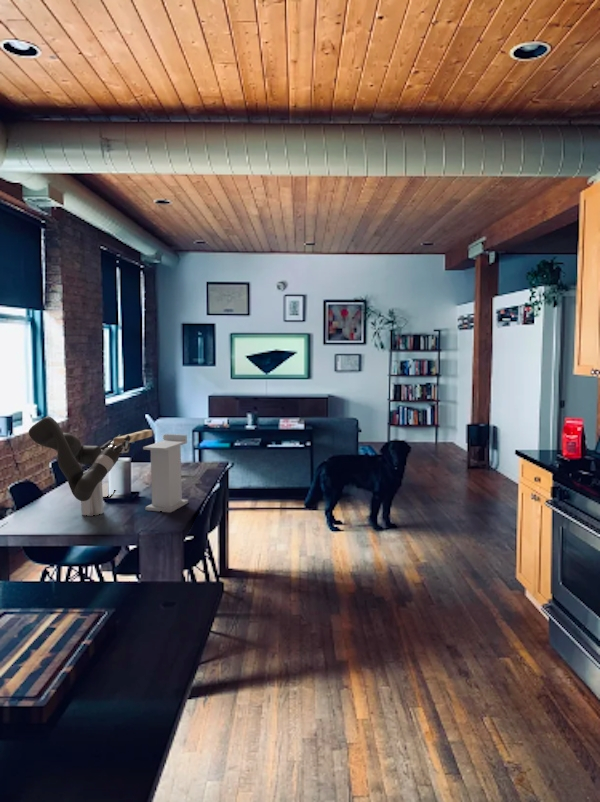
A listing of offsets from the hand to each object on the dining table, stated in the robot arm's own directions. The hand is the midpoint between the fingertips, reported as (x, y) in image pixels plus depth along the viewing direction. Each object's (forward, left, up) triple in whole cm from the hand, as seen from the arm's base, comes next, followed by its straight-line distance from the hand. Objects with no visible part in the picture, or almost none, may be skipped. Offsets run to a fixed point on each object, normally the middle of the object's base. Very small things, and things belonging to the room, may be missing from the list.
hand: (124, 436), depth 269 cm
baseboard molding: (+43, +58, -42) cm, 83 cm away
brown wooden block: (+7, +1, -3) cm, 8 cm away
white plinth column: (+34, +6, -41) cm, 54 cm away
